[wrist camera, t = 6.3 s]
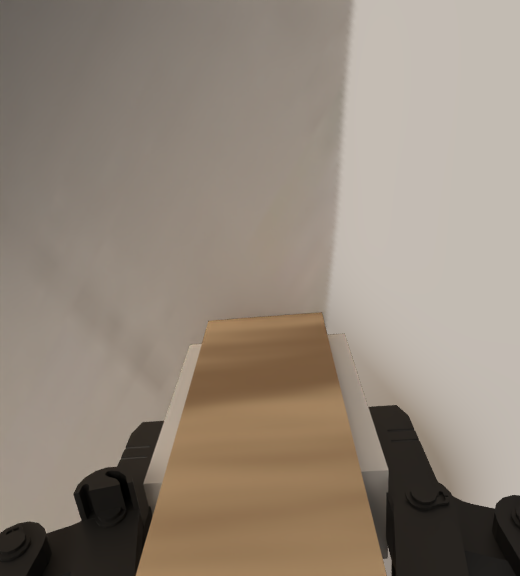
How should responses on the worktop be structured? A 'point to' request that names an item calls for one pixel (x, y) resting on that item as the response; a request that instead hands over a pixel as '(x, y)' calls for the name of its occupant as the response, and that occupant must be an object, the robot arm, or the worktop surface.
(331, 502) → the crook tool
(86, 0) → the worktop surface
